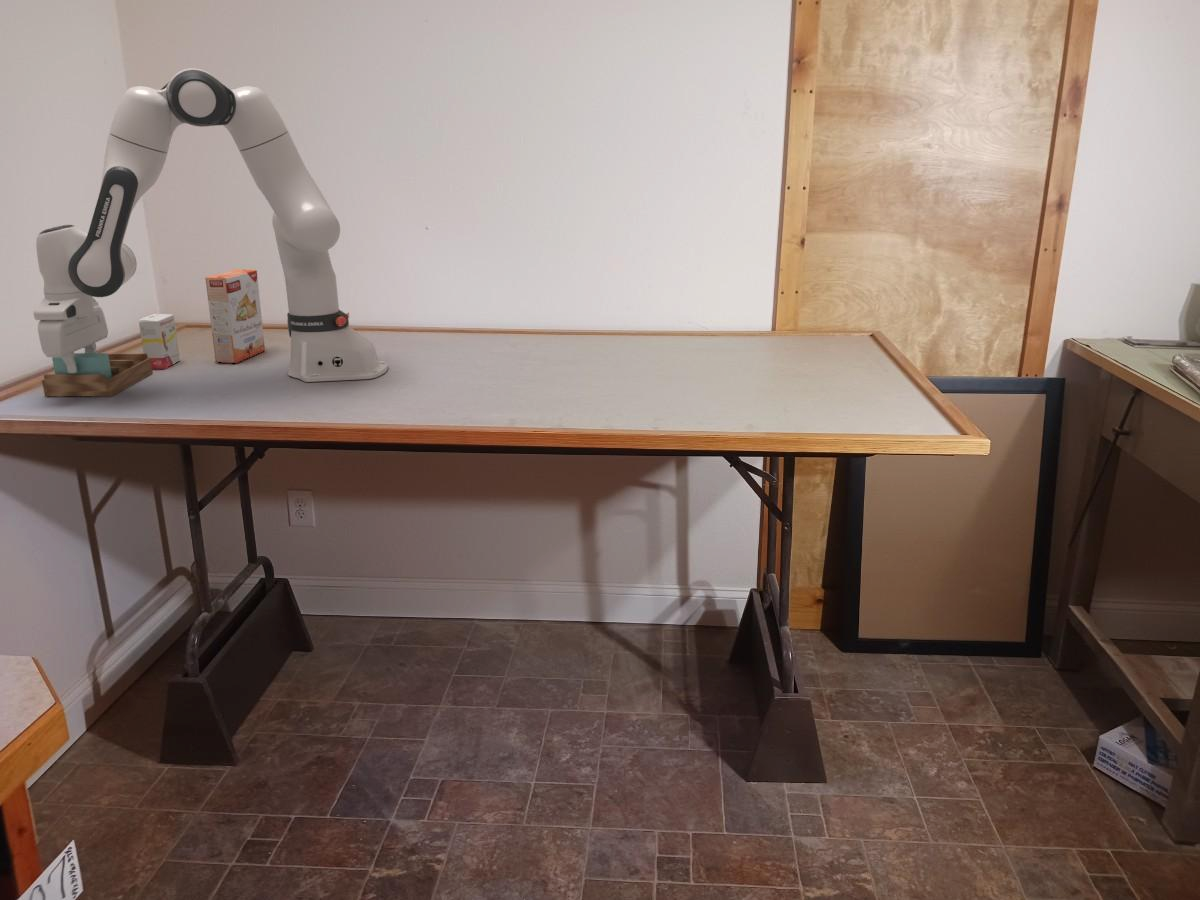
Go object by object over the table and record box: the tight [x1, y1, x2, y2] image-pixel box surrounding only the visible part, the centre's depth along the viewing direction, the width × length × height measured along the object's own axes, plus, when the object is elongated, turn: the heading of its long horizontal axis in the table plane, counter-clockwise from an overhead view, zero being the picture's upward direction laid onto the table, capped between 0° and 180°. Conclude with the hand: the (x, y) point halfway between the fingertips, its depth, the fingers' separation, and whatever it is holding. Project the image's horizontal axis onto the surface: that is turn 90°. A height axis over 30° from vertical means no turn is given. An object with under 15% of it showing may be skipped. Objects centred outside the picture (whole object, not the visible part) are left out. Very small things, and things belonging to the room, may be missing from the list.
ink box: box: [138, 313, 181, 370], centre depth 232 cm, size 9×5×12 cm, turn 177°
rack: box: [41, 352, 154, 398], centre depth 216 cm, size 14×20×5 cm
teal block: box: [51, 352, 112, 380], centre depth 210 cm, size 4×10×7 cm, turn 89°
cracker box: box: [204, 268, 266, 364], centre depth 238 cm, size 14×6×21 cm, turn 168°
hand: (82, 368), depth 209 cm, fingers open, 5 cm apart
